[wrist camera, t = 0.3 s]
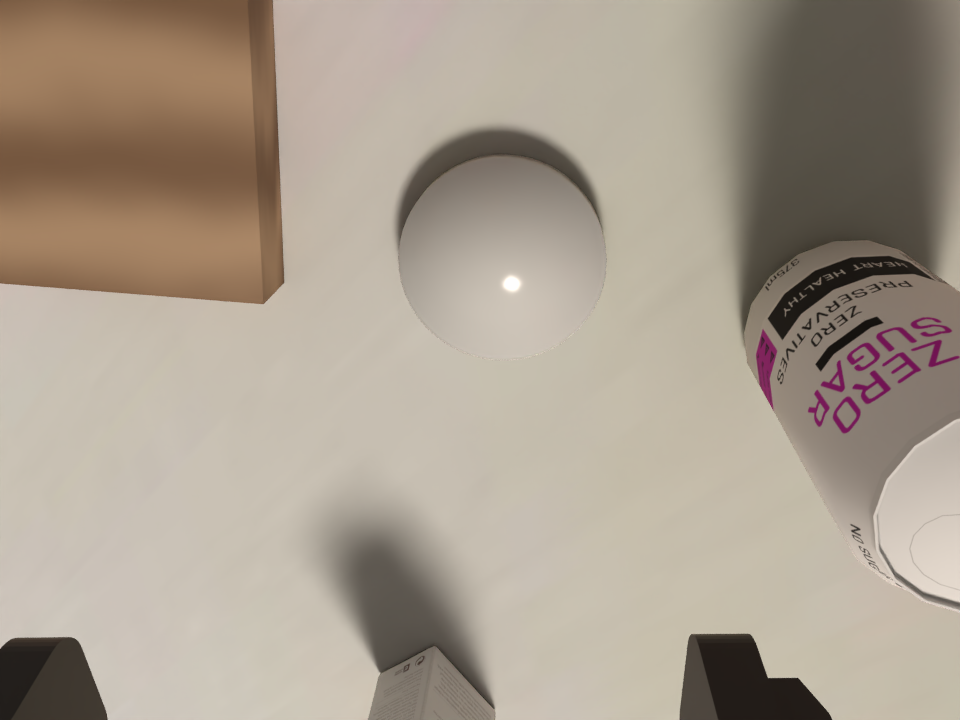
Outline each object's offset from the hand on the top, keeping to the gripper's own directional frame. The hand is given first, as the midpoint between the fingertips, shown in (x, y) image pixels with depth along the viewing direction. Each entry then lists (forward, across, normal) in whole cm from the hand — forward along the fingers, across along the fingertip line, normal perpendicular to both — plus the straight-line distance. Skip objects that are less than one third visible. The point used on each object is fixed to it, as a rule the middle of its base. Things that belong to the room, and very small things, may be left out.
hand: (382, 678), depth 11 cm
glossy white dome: (+27, -2, +5) cm, 28 cm away
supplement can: (+26, -16, +8) cm, 32 cm away
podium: (+28, +14, 0) cm, 32 cm away
